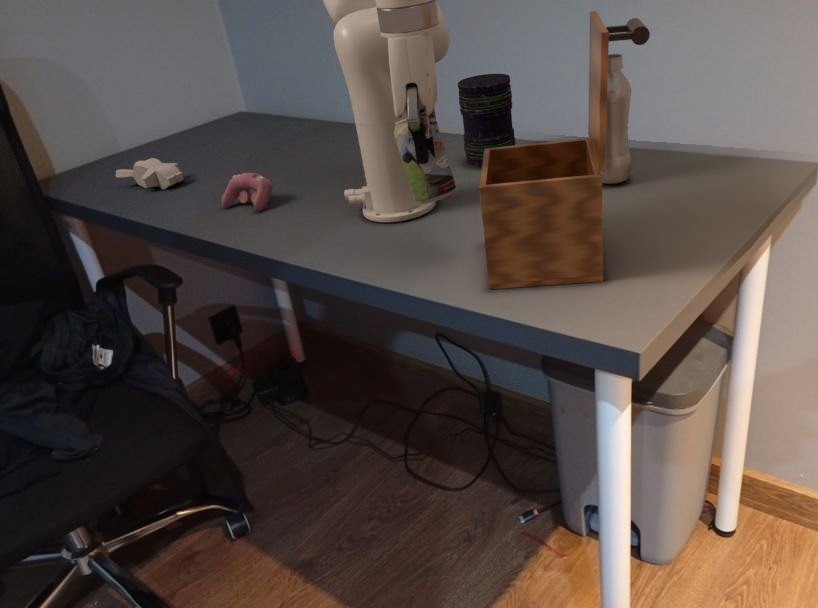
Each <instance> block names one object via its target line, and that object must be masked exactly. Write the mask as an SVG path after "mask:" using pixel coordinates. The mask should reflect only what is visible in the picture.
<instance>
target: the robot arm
mask: <svg viewBox="0 0 818 608" xmlns="http://www.w3.org/2000/svg"><path fill="white" fill-rule="evenodd" d="M322 3H323V5H324V7H325V9H326V11H327V13H328V15H329V16H330V18H331V20H332V21H333V22H334V23H335V24H336V25H335V27H334V29H333V44H334V48H335V52H336V56H337V59H338V62H339V65H340V68H341V70H342V73H343V76H344V79H345V84H346V87H347V91H348V94H349V95H348V96H349V99H350V103H351V109H352V113H353V118H354V119H353V120H354V123H355V124H354V125H355V128H356V134H357V139H358V140H357V141H358V144H359V150H360V155H361V161H362V166H363V172H364V176H365V182H366V185H364V186H362V187H361V188H350V189H349V188H348V189H344V191H343V193H344V200H345V201H346V202H348V204H349V205H355V204H363V205H362V209H361V210H362V214H363V217H364V218H365V219H366V220H369V221H372V222H375V223H398V222H405V221H408V220H413V219H416V218H419V217H422V216H424V215H425V214H428V213H429V212H431V211H432V210H433V209H434V208H435V206H436V202H437V201H435V202H431V203H426V204H422V203H421V201H416V200H415V199H414V196H413V193H412V190H411V186H410V183H409V180H408V177H407V174H406V171H405V168H404V165H403V161H402V158H401V155H400V152H399V149H398V146H397V143H396V140H395V136H394V129H395V122H396V121H399V120H402V119H404V118H407V123H408V134H409V144H410V141H412V140H414V145H415V152H416V159H417V162H418V163H419V164H426V163H427V162H428V160H429V155H428V149H429V151H430V152H431V154H432V155H433V157H434V158H435V150H434V142H433V136H431V137H430V125H429V115H431V116H433V117H434V118H435V119H436V120H437V117H436V115H437V114H436V111H435V106H436V103H437V100H438V82H437V69H436V63H438V62H440V61H441V60H443V59H444V57H445V56H446V55H447V53H448V51H449V48H450V31H449V26H448V23H447V20H446V16H445V15H444V13H443V10H442V8H441V6H440V4H439V3H438V0H322ZM423 112H425V113H424V114H419V113H423ZM420 119H424V124H423V122H420ZM437 125H438V126H439V124H438V123H437ZM424 126H425V127H424Z"/></svg>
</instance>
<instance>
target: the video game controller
mask: <svg viewBox="0 0 818 608" xmlns="http://www.w3.org/2000/svg"><path fill="white" fill-rule="evenodd" d="M250 190H254V191H253V192H252V193H251V192H250ZM272 192H273V183H272V181H271V180H270V179H269V178H267V177H265V176H264V175H262V174H259V173H255V172H243V173H241V174H234V175H232V177H231V178H230V180H229V181H228V184H227V186H226V189H225V191H224V193H223V195H222V197H221V205H222V207H223V208H225V209H229V208H230V207H232V205H234V203H235V202H236V200H237V199H239V202H240V203H241V204H250V203H251V204H253V209H254V210H255V211H256V212H261V211H263V210H264V209H265V208H266V206H267V205H268V202H269V200H270V196H271V194H272Z"/></svg>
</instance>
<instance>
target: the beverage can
mask: <svg viewBox="0 0 818 608" xmlns="http://www.w3.org/2000/svg"><path fill="white" fill-rule="evenodd" d="M424 113H425V112H423V113H419V114H424ZM420 122H423V124H424V119H420ZM437 124H438V122H437V118H436V119H435V118H434V117H433V116H431V115H429V125H430V137H431V136H433V142H434V150H435V158H434V157H433V155H432V154H431V152H430V151H429V149H428V155H429V160H428V162H427V163H426V164H419V163H418V162H417V159H416V152H415V145H414V140H412V141H410V144H409V134H408V123H407V118H404V119H402V120H399V121H396V122H395V129H394V136H395V140H396V143H397V146H398V149H399V152H400V155H401V158H402V161H403V165H404V168H405V171H406V174H407V177H408V180H409V183H410V186H411V190H412V193H413V196H414V199H415V200H416V201H421V203H422V204H426V203H431V202H438V201H441V200H444V199H446V198H448V197H450V196H451V195H452V194H453V191H454V190H455V189H456V187H457V185H456V182H455V179H454V178H455V177H454V176H453V172H452V169H451V166H450V165H451V164H450V162H449V158H448V155H447V152H446V148H445V146H444V145H445V144H444V142H443V139H442V134H441V132H440V129H439V128H440V127H439V124H438V125H437ZM424 127H425V126H424Z"/></svg>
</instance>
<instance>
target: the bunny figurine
mask: <svg viewBox="0 0 818 608" xmlns="http://www.w3.org/2000/svg"><path fill="white" fill-rule="evenodd" d="M129 177H132V178H133V179H134V181H135V182H136V183H137V185H138V186H140V187H143V188H144V189H148V188H154V187H159V188H160V190H166V189H168V188H170V187H173V186H174V185H176V184H179V183H181V182H182V181H184V180H185V178H184V174H183V172H182V171H180V168H179V164H178V163H176V162H162V161H161V160H160V159H157V158H154V157H153V158H152V157H149V158H147V159H146V160H138V161H135V162H134V164H133V167H132V169H127V168H120V169H116V171H115V178H129Z"/></svg>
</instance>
